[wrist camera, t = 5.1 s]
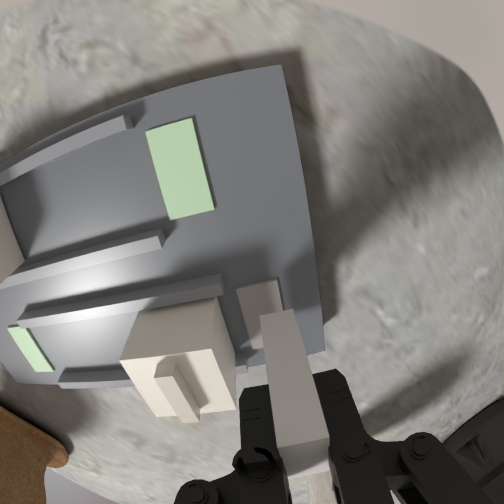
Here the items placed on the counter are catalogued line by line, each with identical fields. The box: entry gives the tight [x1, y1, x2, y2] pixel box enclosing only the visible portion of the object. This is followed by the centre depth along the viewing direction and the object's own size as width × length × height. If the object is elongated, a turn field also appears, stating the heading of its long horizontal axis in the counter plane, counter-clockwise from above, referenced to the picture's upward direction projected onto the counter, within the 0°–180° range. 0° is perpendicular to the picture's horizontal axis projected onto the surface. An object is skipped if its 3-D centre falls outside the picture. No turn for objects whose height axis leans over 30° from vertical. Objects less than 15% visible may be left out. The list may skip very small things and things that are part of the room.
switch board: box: [0, 65, 325, 389], centre depth 15 cm, size 24×15×3 cm, turn 102°
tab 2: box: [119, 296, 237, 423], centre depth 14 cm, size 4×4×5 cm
